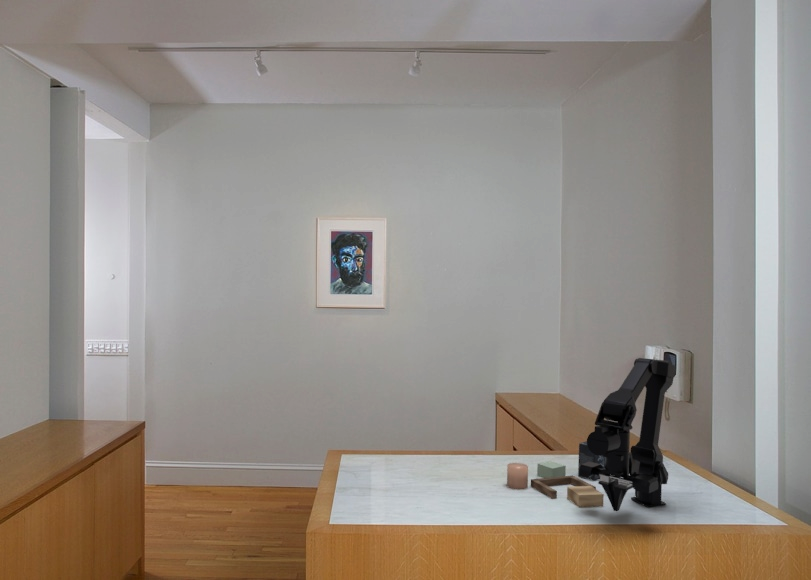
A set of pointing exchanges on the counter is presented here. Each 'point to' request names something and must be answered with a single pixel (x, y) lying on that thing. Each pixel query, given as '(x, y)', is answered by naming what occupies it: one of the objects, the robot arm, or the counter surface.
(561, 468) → the matte sage squarish block
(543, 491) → the walnut bay
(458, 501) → the counter surface
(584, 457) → the box
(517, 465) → the tan round cylinder
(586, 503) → the oak block
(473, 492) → the counter surface
